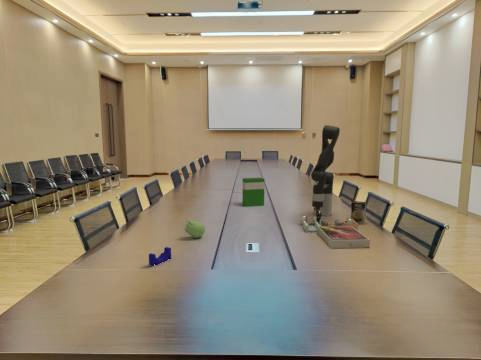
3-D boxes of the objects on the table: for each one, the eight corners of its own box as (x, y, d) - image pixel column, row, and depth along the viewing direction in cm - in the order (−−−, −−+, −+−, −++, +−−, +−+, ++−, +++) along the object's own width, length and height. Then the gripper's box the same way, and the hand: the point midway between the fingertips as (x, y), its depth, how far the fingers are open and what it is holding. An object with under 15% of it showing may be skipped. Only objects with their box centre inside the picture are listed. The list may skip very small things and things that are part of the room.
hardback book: (261, 203, 299) (261, 177, 296) (264, 205, 292) (264, 178, 289) (242, 205, 294) (242, 178, 291) (245, 206, 287) (245, 179, 284)
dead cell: (345, 227, 221) (345, 216, 220) (351, 227, 221) (352, 217, 220) (347, 229, 217) (347, 218, 216) (354, 229, 217) (354, 218, 216)
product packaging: (331, 249, 185) (331, 240, 184) (317, 233, 213) (317, 226, 212) (369, 248, 186) (369, 239, 185) (350, 233, 214) (350, 225, 213)
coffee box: (350, 224, 232) (351, 202, 230) (351, 222, 237) (352, 200, 235) (364, 226, 228) (365, 203, 225) (365, 224, 233) (366, 201, 231)
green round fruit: (196, 233, 211) (196, 216, 209) (207, 237, 203) (207, 220, 201) (180, 237, 202) (180, 220, 201) (191, 242, 195) (191, 223, 193)
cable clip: (164, 257, 171) (164, 246, 170) (171, 259, 169) (170, 248, 168) (146, 265, 161) (146, 253, 160) (153, 267, 159) (153, 255, 158)
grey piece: (302, 227, 225) (302, 219, 224) (355, 227, 225) (356, 219, 224) (305, 232, 214) (305, 223, 214) (361, 232, 214) (361, 223, 213)
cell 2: (313, 224, 233) (313, 214, 232) (319, 224, 233) (319, 214, 232) (314, 225, 229) (314, 216, 228) (321, 225, 229) (321, 216, 228)
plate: (325, 225, 222) (325, 224, 222) (334, 225, 222) (334, 224, 222) (327, 227, 216) (327, 226, 216) (337, 227, 216) (337, 226, 216)
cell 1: (299, 223, 235) (300, 214, 234) (306, 223, 234) (306, 214, 233) (300, 225, 230) (301, 215, 229) (307, 225, 230) (307, 215, 229)
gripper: (325, 202, 221) (324, 226, 224) (321, 197, 236) (320, 221, 238) (314, 201, 221) (313, 226, 224) (310, 197, 236) (309, 221, 238)
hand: (317, 223), depth 231 cm, fingers closed on cell 2, 4 cm apart
